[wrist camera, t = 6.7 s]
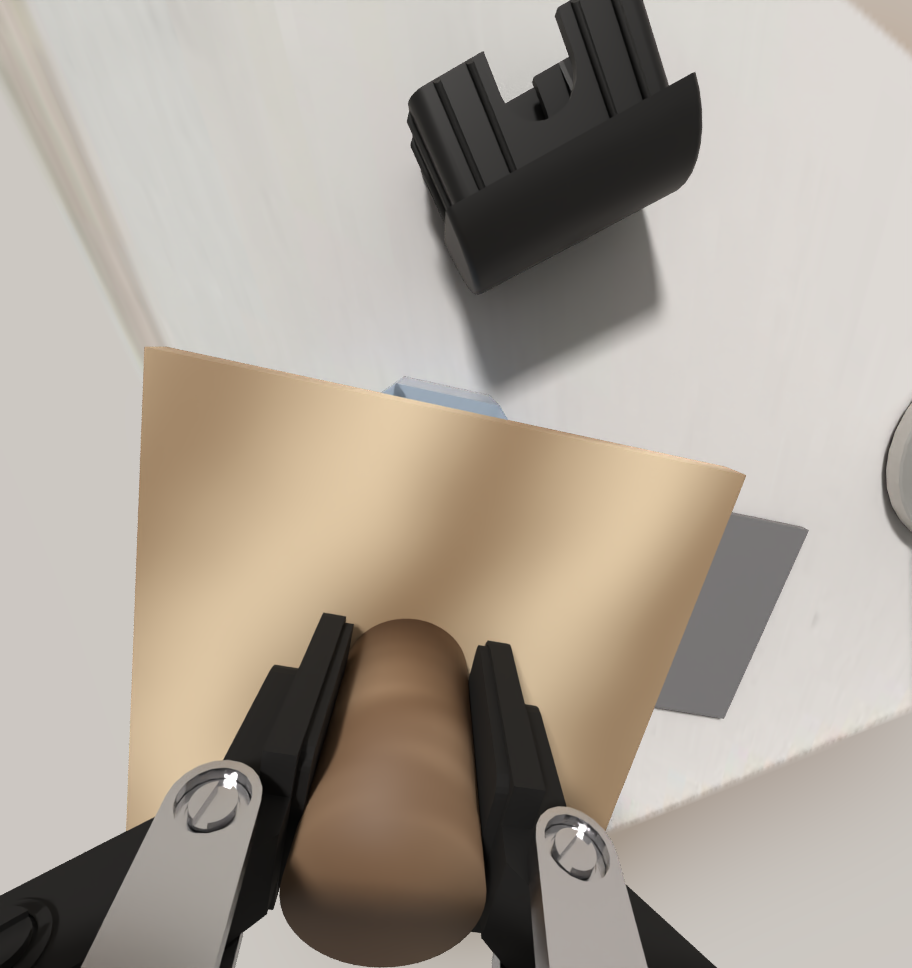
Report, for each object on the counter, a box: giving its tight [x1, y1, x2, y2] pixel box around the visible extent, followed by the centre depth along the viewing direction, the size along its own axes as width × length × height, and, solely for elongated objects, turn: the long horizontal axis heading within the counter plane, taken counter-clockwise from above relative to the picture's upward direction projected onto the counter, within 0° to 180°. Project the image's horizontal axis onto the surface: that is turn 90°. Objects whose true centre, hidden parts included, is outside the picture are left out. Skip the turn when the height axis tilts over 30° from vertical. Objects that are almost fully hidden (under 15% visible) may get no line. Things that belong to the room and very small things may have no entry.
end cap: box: [407, 0, 702, 294], centre depth 20 cm, size 10×7×7 cm
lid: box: [126, 347, 746, 967], centre depth 10 cm, size 13×13×6 cm
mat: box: [655, 512, 809, 719], centre depth 30 cm, size 14×14×1 cm
